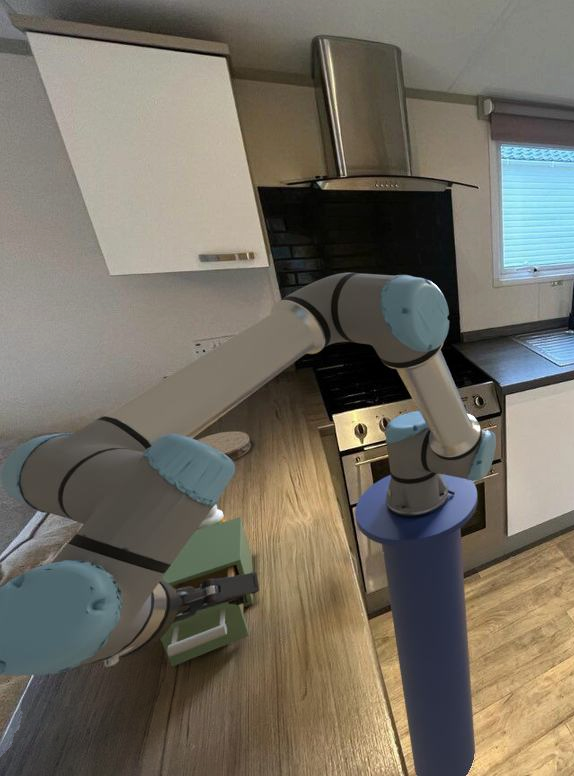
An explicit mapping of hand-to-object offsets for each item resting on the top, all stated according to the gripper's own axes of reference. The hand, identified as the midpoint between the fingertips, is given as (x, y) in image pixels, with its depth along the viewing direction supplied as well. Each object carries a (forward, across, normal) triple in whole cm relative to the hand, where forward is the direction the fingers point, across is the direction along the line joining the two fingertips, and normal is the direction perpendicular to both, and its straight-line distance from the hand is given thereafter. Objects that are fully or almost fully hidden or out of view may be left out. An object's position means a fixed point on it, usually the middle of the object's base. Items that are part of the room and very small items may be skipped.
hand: (180, 615), depth 61 cm
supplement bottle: (+39, -1, +15) cm, 42 cm away
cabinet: (+28, 0, +4) cm, 28 cm away
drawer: (+19, 0, -3) cm, 19 cm away
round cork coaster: (+72, -2, +48) cm, 86 cm away
